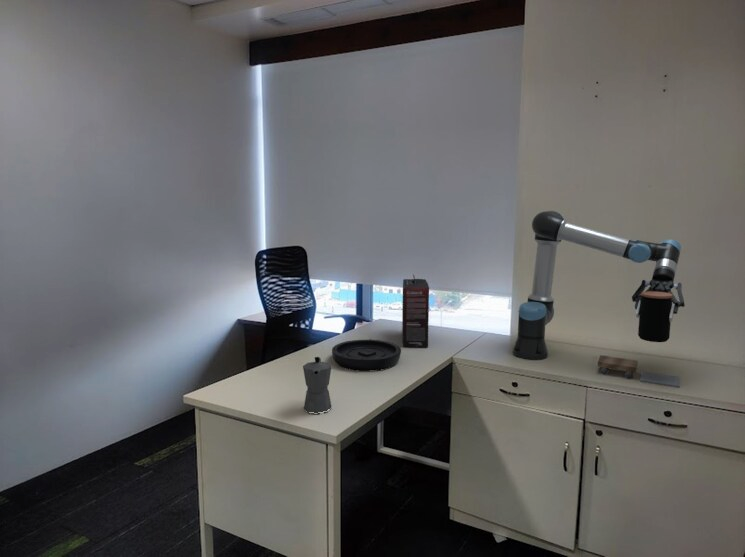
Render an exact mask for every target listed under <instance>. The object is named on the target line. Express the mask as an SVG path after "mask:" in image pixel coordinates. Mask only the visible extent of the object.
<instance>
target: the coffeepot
mask: <svg viewBox="0 0 745 557" xmlns="http://www.w3.org/2000/svg"><path fill="white" fill-rule="evenodd" d="M302 369H303V375H304V380H305V386H306V387H307V388H306V389H307V390H306V392H305V398H304V406H303V409H304V411H305V410H306V411H307V412H314V413H318V412H323V411H327V410H328V409H330V408H331V407H333V406H332V401H331V396H330V391H329V389H328V386H329V384H330V379H331V373H332V372H331V371H332V364H330V363H329V362H327V361H322V360H321V357H320V356H315V357H314V361H311V362H306V364H304V365H302ZM331 409H332V408H331ZM331 409H330V410H331ZM306 411H305V412H306ZM307 412H306V413H307Z"/></svg>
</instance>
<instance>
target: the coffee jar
mask: <svg viewBox="0 0 745 557" xmlns="http://www.w3.org/2000/svg"><path fill="white" fill-rule="evenodd" d="M641 295H642V298H641V300H640V314H639V318H638V328H637V329H638V330H637V335H638V337H639V339H641V340H643V341H646V342H650V343H665V342H667V341H668V340H669V339H670V335H671V334H670V333H671V322H670V320H669V316H670V312H671V307H672V304H673V302H672V300H671V298H672V297H673V295H674V294H673V295H672V294H670V293H666V292H655V291H646V290H644V291H643V292H641Z"/></svg>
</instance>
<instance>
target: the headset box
mask: <svg viewBox="0 0 745 557" xmlns="http://www.w3.org/2000/svg"><path fill="white" fill-rule="evenodd" d="M412 276H413V278H410V279H408V278H407V279H406V278H403V282H402V309H401V310H402V314H401V315H402V320H401V321H402V322H401V323H402V329H401V330H402V332H401V333H402V346H403V348H428V347H429V322H430V321H429V320H430V319H429V318H430V317H429V314H430V313H429V312H430V311H429V310H430V308H429V307H430V286H429V283H428V281H427V279H425V278H424V279H423V278H416V277H415V275H414V274H413V275H412Z"/></svg>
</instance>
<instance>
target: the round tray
mask: <svg viewBox="0 0 745 557" xmlns="http://www.w3.org/2000/svg"><path fill="white" fill-rule="evenodd" d="M401 353H402V348H401V347H400V346H399V345H397V344H395V343H393V342H390V341H385V340H381V339H380V340H379V339H354V340H346V341H344V342H340V343H337V344H335V345H334V346H333V347H332V349H331V354H332V355H331V356H332V357H333V358H332V359H333V360H334V362H335V363H336V365H337V366H338V367H341V368H342V369H345V368H346V369H347V370H349V369H350V371H356V370H359V372H371V371H370V370H377V371H382V370H381V369H384V370H387V369H390V368H393V367H394V366H396V365H397V364H398V362H399V360H400V359H401ZM395 364H396V365H395ZM392 366H393V367H392ZM389 367H390V368H389ZM386 368H387V369H386Z"/></svg>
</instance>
